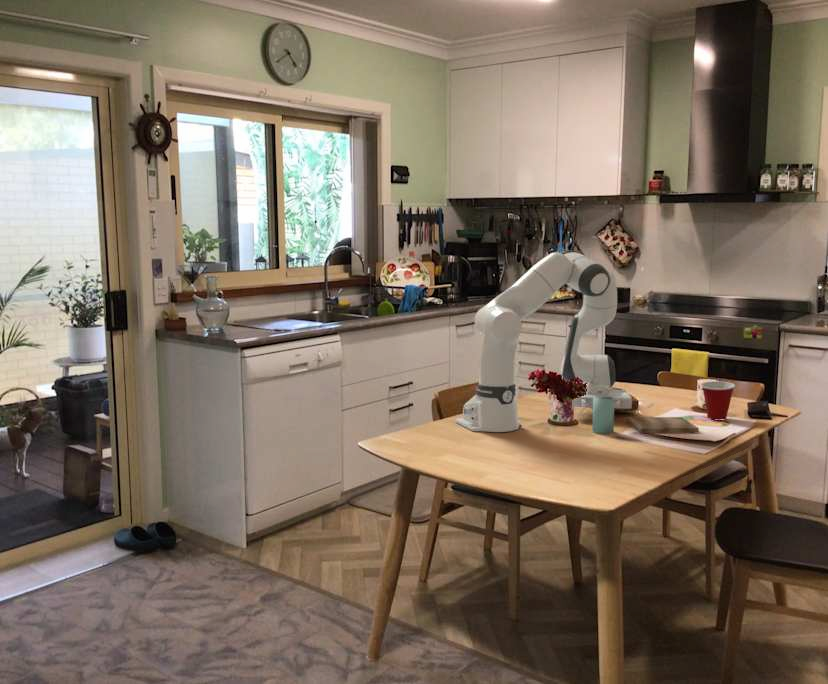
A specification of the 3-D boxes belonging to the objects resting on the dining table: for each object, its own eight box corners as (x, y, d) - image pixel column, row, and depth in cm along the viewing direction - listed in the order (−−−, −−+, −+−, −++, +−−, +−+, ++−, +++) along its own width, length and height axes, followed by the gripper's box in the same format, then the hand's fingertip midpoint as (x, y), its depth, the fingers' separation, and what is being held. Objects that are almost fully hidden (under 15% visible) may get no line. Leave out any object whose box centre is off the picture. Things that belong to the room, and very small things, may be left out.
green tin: (588, 431, 253) (588, 396, 252) (603, 428, 256) (604, 394, 255) (602, 435, 247) (603, 399, 246) (617, 432, 251) (618, 397, 249)
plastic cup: (693, 418, 270) (694, 383, 269) (709, 414, 278) (710, 379, 276) (723, 424, 262) (725, 387, 261) (739, 419, 269) (741, 383, 268)
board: (640, 433, 250) (640, 428, 250) (627, 421, 266) (627, 417, 266) (698, 432, 250) (698, 428, 250) (681, 421, 266) (681, 417, 266)
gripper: (568, 387, 276) (568, 394, 262) (630, 389, 272) (633, 396, 259) (568, 405, 276) (568, 413, 263) (629, 407, 273) (633, 416, 259)
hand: (601, 405), depth 261 cm, fingers open, 8 cm apart
